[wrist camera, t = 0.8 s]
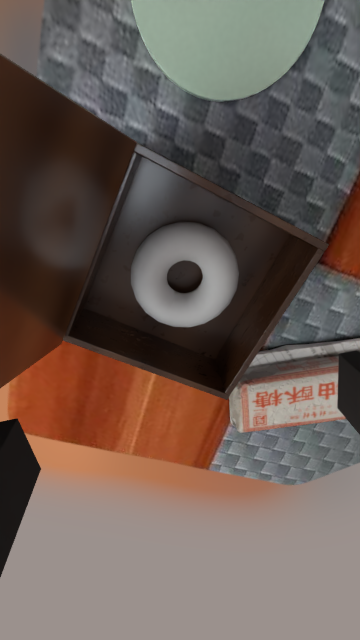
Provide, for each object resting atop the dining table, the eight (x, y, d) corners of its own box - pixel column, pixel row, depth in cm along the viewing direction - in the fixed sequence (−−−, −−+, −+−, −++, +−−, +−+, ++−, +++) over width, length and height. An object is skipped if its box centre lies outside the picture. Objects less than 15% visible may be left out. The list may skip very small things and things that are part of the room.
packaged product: (237, 451, 36) (232, 378, 32) (229, 420, 40) (223, 352, 36) (398, 430, 36) (414, 353, 32) (372, 401, 40) (384, 331, 36)
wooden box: (296, 229, 31) (329, 244, 25) (216, 362, 37) (227, 400, 31) (138, 145, 27) (132, 139, 21) (77, 308, 33) (58, 339, 27)
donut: (247, 231, 30) (141, 207, 29) (258, 239, 27) (139, 212, 25) (218, 325, 34) (123, 309, 33) (224, 341, 31) (120, 324, 30)
